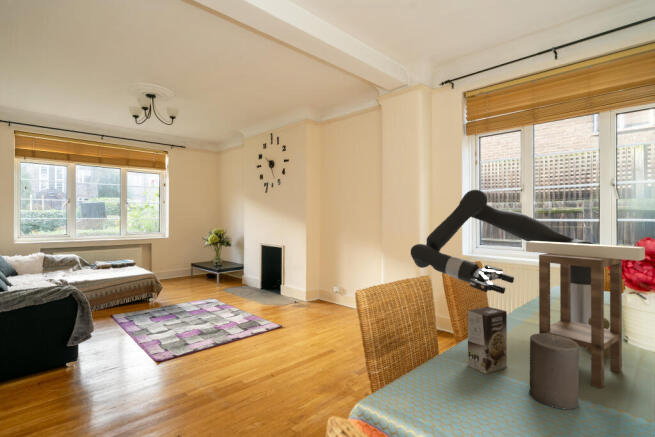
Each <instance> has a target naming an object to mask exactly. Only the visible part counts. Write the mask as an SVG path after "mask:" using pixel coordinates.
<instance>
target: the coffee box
mask: <svg viewBox="0 0 655 437" xmlns="http://www.w3.org/2000/svg"><path fill="white" fill-rule="evenodd" d="M507 313H508V312H507V310H504V309H500V308H495V307H490V306H485V307H479V308H478V307H477V308H473V309H469V310H467V366H469V367H471V368H472V369H474V370H477V371H479V372H481V373H484V374H485V375H487V374H490V373H493V372H495V371H498V370H502V369H505V368H507V367H508V363H507V362H508V361H507V360H508V359H507V358H508V357H507V356H508V353H507V352H508V344H507V341H508V340H507V339H508V338H507V335H508V334H507V332H508V328H507V327H508V326H507V325H508V324H507V322H508V320H507V319H508V318H507V316H508V315H507Z"/></svg>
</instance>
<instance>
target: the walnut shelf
mask: <svg viewBox="0 0 655 437" xmlns="http://www.w3.org/2000/svg"><path fill="white" fill-rule="evenodd" d="M622 262H623V259H612V258H600V257H588V256H575V255H563V254H550V253H541V254H539V255H538V265H539V266H538V295H539V296H538V301H539V302H538V304H539V305H538V306H539V308H538V309H539V311H538V312H539V313H538V318H539V319H538V320H539V321H538V322H539V324H538V325H539V326H538V329H539V331H538V334H540V333H543V334H553V335H558V336H562V337H565V338H569V339H571V340H573V341H574V342H576V343H577V344H578V345H579V347H581V348H585V349H587V348H589V349H591V353H590V360H591V361H590V363H591V364H590V372H591V374H590V377H591V378H590V381H591V382H590V383H591V384H590V386H592V387H595V388H598V389H599V390H600V389H603V388H604V387H605V356H604V349H606V348H607V347H609V346H610V356H609V370H610V371H612V372H615V373H618V374H620V373H621V372H623V371H622V369H623V356H622V355H623V343H622V341H623V339H622V338H623V336H622V335H623V333H622V332H623V329H622V328H623V325H622V322H623V313H622V312H623V311H622V310H623V309H622V308H623V307H622V306H623V301H622V300H623V297H622V296H623V294H622V293H623V290H622V289H623V287H622V286H623V279H622V278H623V277H622V276H623V274H622V273H623V272H622V271H623V269H622V268H623V266H622V264H623V263H622ZM551 264H555V265H559V266H560V267H559V273H560V274H559V276H560V277H559V278H560V279H559V280H560V282H559V286H560V288H559V289H560V291H559V292H560V293H559V294H560V295H559V297H560V300H559V304H560V305H559V306H560V307H559V308H560V316H559V318H560V319H559V321H556V322H554V323H551ZM571 265H574V266H584V267H591V325H587V324H582V323H578V322H573V321H571ZM607 267H609V323H610V326H609V328H608V329H605V328H604V318H605V308H604V307H605V304H604V303H605V300H604V299H605V294H604V292H605V283H604V282H605V275H604V274H605V268H607Z"/></svg>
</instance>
